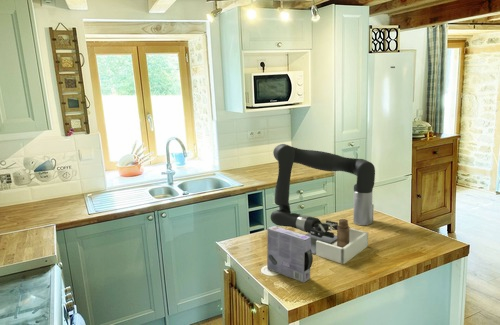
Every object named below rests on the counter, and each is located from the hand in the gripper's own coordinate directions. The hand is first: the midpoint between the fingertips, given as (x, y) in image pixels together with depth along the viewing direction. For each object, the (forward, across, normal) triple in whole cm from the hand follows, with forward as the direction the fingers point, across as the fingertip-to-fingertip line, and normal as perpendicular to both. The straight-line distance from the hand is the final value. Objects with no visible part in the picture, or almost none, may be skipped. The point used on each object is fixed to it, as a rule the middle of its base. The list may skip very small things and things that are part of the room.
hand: (338, 232), depth 163 cm
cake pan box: (-5, -30, +9) cm, 31 cm away
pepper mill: (+2, 0, +8) cm, 8 cm away
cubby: (+1, 0, +8) cm, 9 cm away
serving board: (-13, 0, +8) cm, 15 cm away
